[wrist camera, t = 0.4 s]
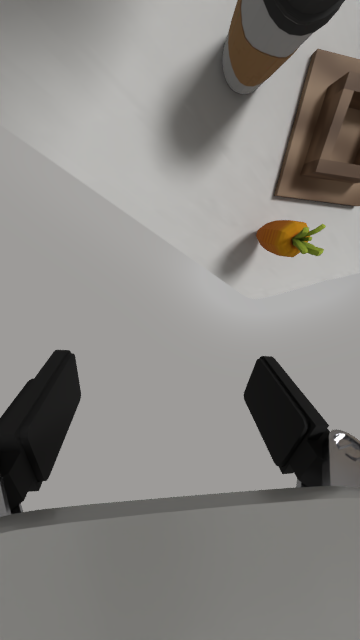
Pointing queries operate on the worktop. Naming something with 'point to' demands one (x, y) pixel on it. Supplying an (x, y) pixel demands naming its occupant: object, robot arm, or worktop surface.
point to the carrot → (288, 238)
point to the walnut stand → (325, 134)
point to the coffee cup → (269, 37)
